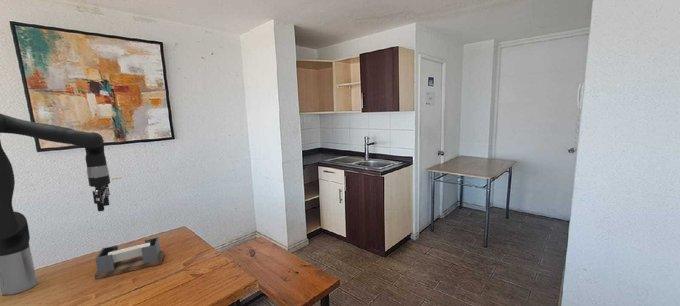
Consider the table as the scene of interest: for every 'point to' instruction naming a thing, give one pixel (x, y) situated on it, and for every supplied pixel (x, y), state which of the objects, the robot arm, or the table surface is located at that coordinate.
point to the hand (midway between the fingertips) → (104, 208)
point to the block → (128, 252)
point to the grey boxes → (107, 263)
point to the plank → (130, 265)
